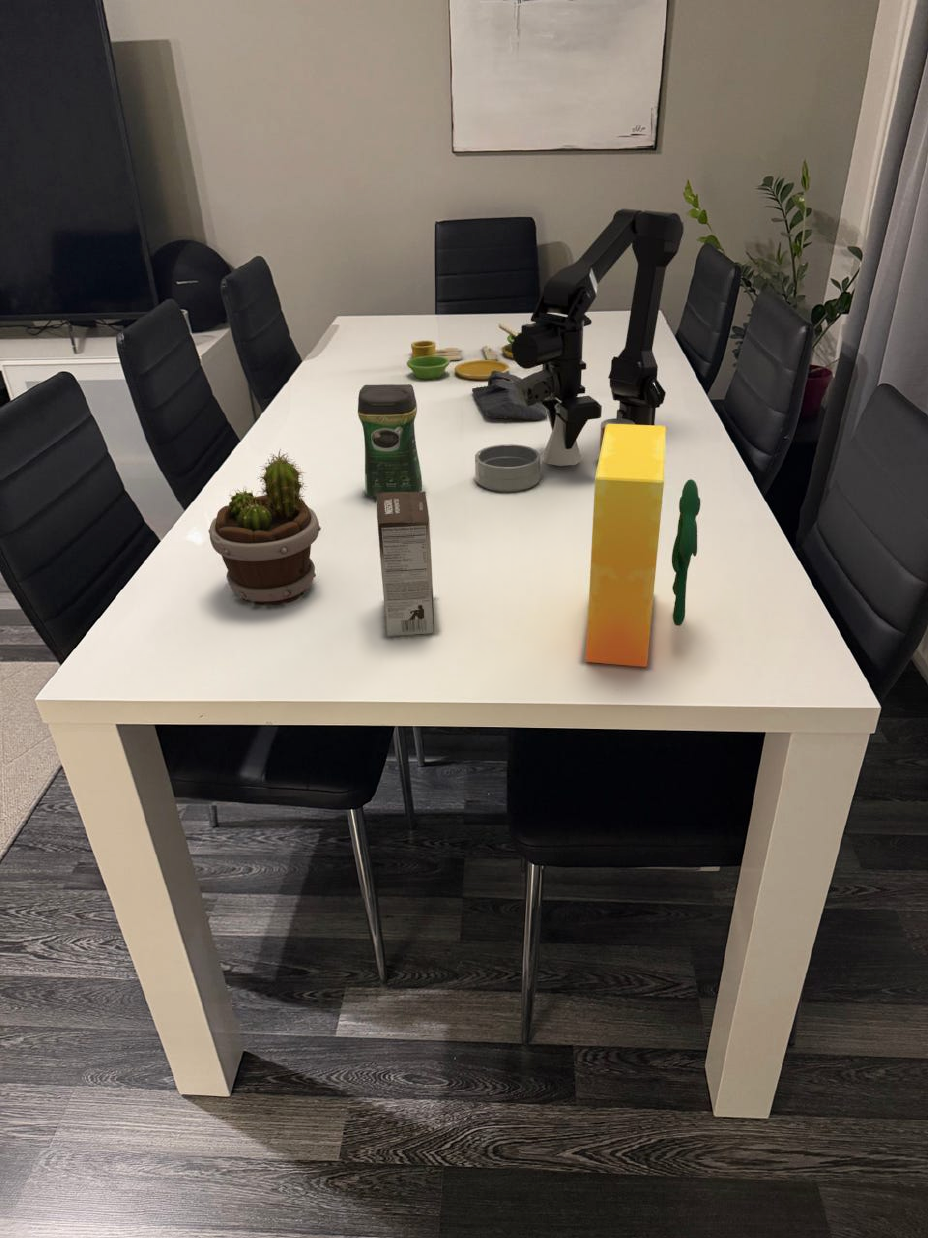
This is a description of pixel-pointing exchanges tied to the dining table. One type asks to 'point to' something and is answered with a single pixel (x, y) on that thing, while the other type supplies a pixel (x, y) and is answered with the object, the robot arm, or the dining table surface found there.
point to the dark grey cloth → (506, 399)
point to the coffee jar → (389, 438)
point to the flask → (560, 446)
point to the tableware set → (434, 364)
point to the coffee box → (406, 562)
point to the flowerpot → (268, 538)
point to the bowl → (507, 467)
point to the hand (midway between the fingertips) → (562, 443)
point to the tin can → (612, 421)
